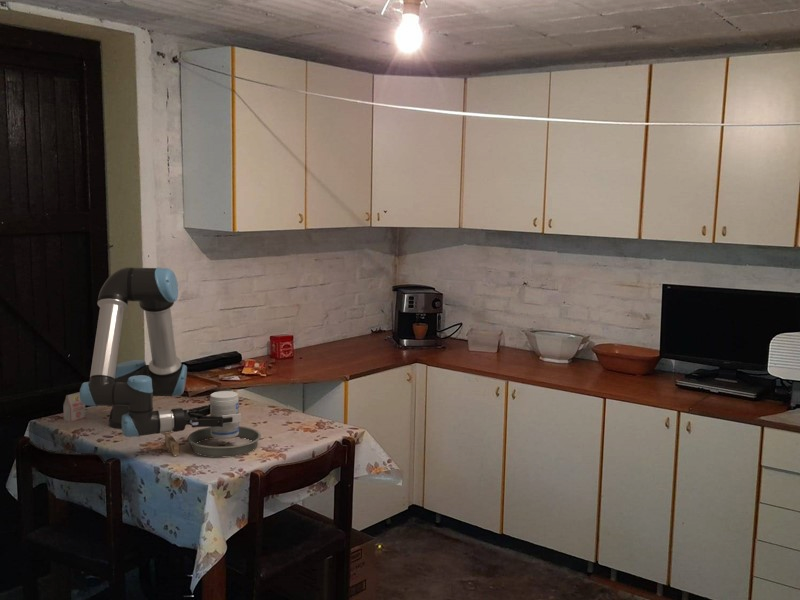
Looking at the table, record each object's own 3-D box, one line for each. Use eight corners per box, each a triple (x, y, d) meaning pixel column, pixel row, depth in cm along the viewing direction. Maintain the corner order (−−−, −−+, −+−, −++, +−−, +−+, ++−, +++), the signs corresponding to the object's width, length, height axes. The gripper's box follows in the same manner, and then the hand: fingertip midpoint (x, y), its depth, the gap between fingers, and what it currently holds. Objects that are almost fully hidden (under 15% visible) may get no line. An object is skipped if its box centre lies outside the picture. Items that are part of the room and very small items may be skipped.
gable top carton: (63, 420, 291) (63, 394, 290) (78, 416, 297) (78, 391, 296) (70, 422, 289) (69, 396, 288) (85, 418, 295) (84, 392, 294)
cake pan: (227, 465, 250) (227, 451, 249) (172, 451, 262) (172, 438, 261) (275, 445, 271) (275, 432, 271) (222, 433, 283) (222, 421, 283)
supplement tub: (243, 437, 264) (243, 395, 262) (216, 441, 259) (216, 399, 257) (232, 429, 272) (232, 389, 270) (206, 433, 267) (206, 392, 265)
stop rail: (179, 456, 256) (178, 444, 255) (174, 456, 255) (174, 445, 255) (169, 443, 268) (169, 432, 267) (165, 444, 267) (164, 433, 267)
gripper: (163, 421, 267) (225, 414, 277) (180, 441, 246) (246, 433, 257) (163, 400, 266) (225, 394, 276) (179, 418, 245) (246, 411, 256)
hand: (235, 413), depth 267 cm, fingers open, 11 cm apart
